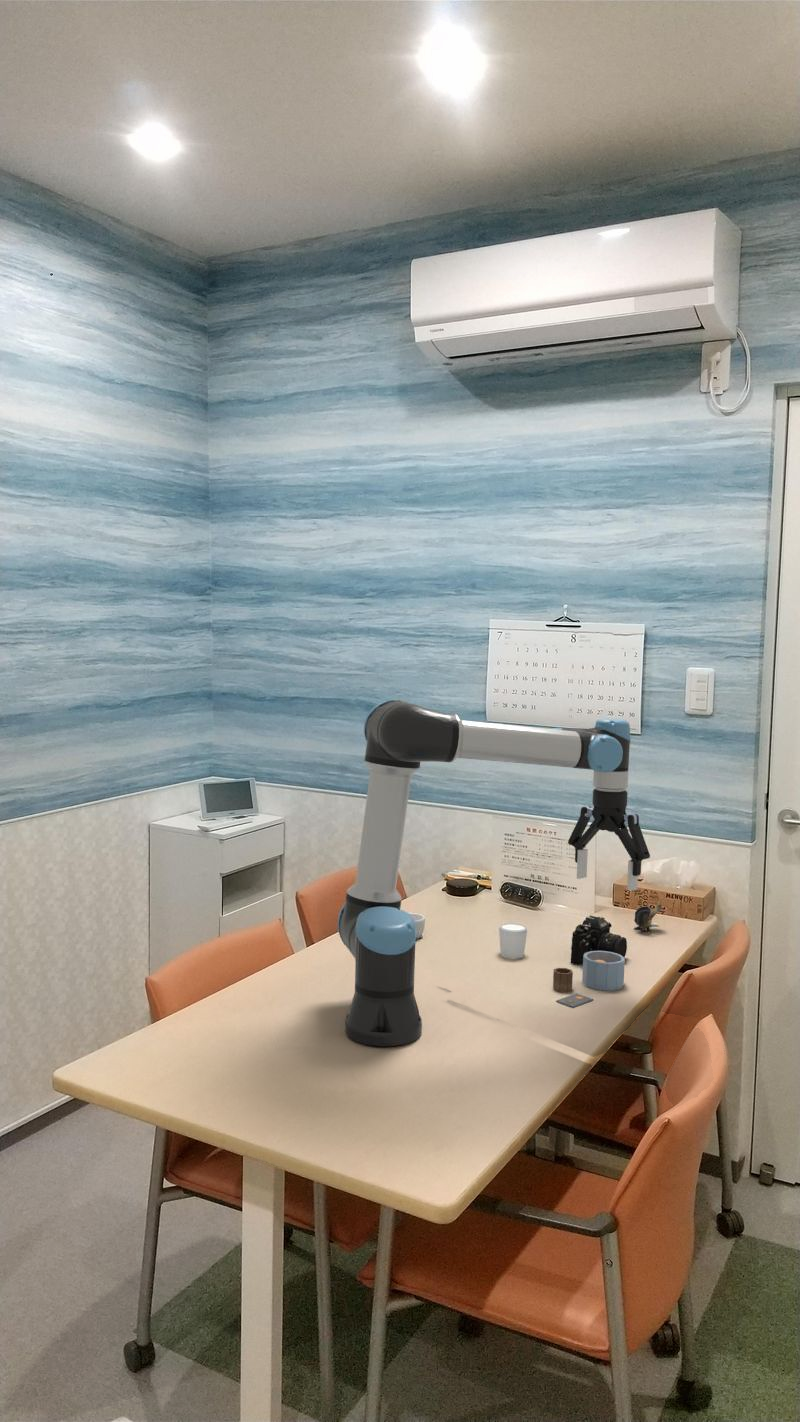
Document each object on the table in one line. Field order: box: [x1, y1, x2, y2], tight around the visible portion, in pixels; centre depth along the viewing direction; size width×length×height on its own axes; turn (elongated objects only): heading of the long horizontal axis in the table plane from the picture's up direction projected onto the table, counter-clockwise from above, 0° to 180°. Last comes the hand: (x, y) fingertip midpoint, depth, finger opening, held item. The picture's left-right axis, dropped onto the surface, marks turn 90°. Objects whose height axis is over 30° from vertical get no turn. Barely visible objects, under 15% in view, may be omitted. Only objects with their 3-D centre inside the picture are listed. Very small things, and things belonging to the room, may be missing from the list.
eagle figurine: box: [633, 904, 662, 934], centre depth 258 cm, size 8×7×9 cm
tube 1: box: [552, 967, 574, 993], centre depth 217 cm, size 4×4×4 cm
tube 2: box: [581, 951, 626, 991], centre depth 221 cm, size 9×9×6 cm
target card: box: [555, 992, 594, 1009], centre depth 209 cm, size 7×4×1 cm, turn 132°
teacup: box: [408, 912, 426, 940], centre depth 251 cm, size 10×8×5 cm
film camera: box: [570, 914, 628, 966], centre depth 238 cm, size 18×12×10 cm
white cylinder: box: [498, 923, 528, 960], centre depth 239 cm, size 7×7×7 cm
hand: (606, 883), depth 219 cm, fingers open, 13 cm apart
